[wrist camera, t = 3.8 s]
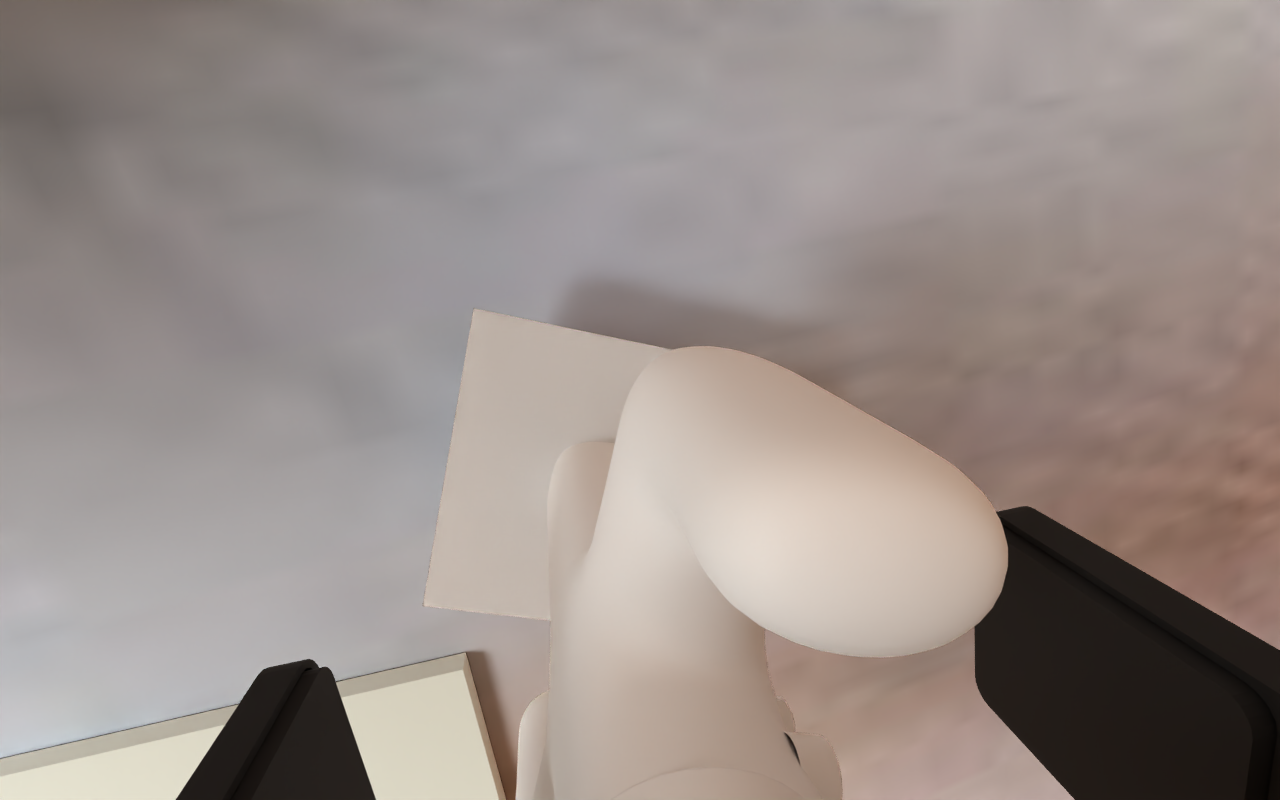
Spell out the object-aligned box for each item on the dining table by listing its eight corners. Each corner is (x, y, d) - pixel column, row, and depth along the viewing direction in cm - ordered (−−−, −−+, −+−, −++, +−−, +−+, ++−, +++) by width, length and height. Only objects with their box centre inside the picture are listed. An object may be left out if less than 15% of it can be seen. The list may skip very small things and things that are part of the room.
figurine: (438, 568, 19) (124, 1638, 5) (494, 250, 17) (234, 379, 2) (670, 597, 20) (982, 1475, 6) (748, 308, 18) (1506, 599, 4)
